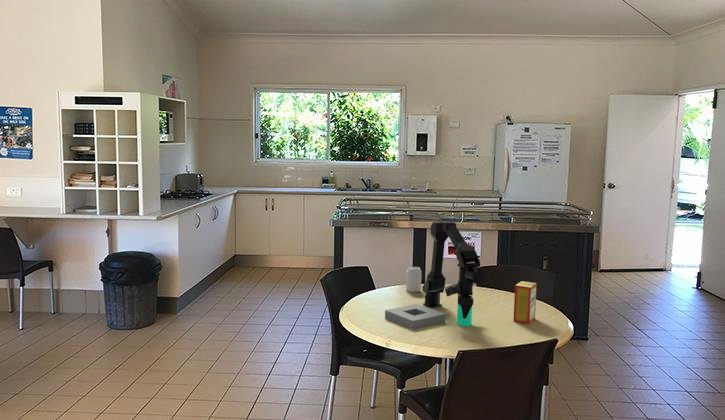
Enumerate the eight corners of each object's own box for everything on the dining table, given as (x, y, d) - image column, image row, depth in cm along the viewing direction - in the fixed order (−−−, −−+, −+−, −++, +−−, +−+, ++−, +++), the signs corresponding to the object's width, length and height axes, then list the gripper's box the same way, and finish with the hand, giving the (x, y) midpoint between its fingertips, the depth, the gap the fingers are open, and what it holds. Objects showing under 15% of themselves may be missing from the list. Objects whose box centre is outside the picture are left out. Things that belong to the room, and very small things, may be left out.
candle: (472, 322, 245) (473, 294, 244) (470, 326, 240) (471, 298, 238) (458, 321, 247) (459, 293, 246) (455, 325, 241) (456, 296, 240)
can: (420, 293, 292) (420, 269, 291) (405, 292, 294) (405, 268, 292) (421, 289, 299) (422, 266, 298) (407, 288, 301) (407, 265, 300)
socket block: (416, 311, 260) (417, 304, 259) (445, 322, 245) (445, 314, 245) (384, 318, 249) (385, 310, 249) (412, 329, 235) (412, 320, 234)
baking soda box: (528, 324, 245) (530, 286, 243) (513, 321, 248) (515, 284, 246) (534, 318, 253) (536, 282, 251) (519, 316, 256) (521, 280, 254)
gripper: (446, 273, 252) (445, 308, 253) (445, 283, 233) (444, 321, 235) (472, 274, 250) (471, 310, 252) (474, 284, 232) (472, 323, 233)
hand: (464, 315), depth 243 cm, fingers closed on candle, 7 cm apart
